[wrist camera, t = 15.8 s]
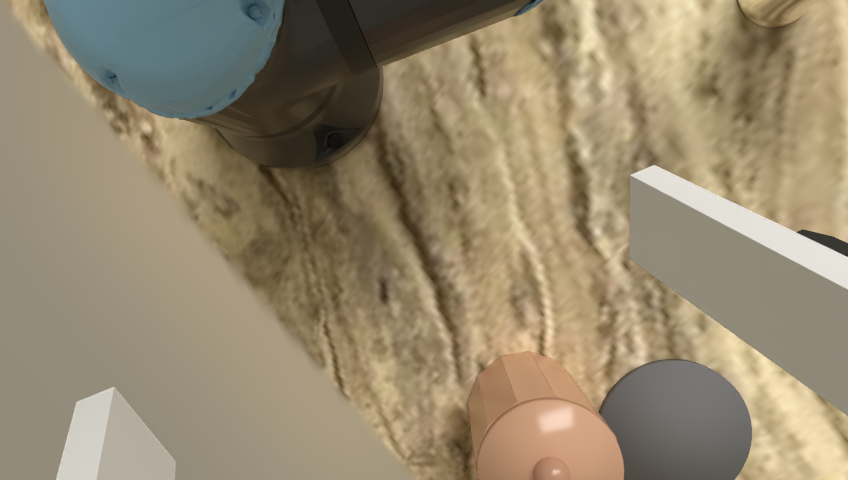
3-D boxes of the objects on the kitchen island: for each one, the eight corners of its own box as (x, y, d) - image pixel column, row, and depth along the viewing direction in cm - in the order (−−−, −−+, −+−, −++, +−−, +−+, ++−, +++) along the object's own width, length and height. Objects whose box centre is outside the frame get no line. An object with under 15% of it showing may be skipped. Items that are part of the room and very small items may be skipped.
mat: (583, 488, 46) (586, 493, 46) (610, 348, 45) (613, 350, 45) (729, 513, 46) (734, 518, 45) (760, 372, 45) (766, 375, 44)
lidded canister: (454, 438, 47) (458, 528, 34) (491, 337, 46) (509, 390, 33) (557, 475, 46) (600, 578, 34) (597, 374, 46) (655, 442, 33)
